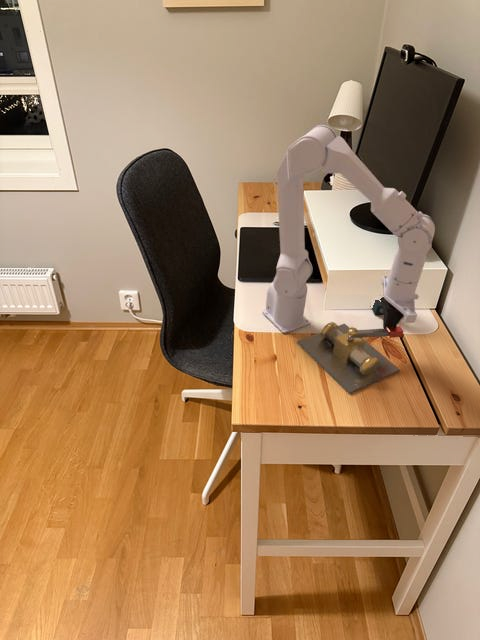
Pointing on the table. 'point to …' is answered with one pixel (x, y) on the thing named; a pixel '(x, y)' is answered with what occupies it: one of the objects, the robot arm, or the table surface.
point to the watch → (377, 308)
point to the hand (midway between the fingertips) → (388, 329)
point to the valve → (347, 358)
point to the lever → (375, 333)
